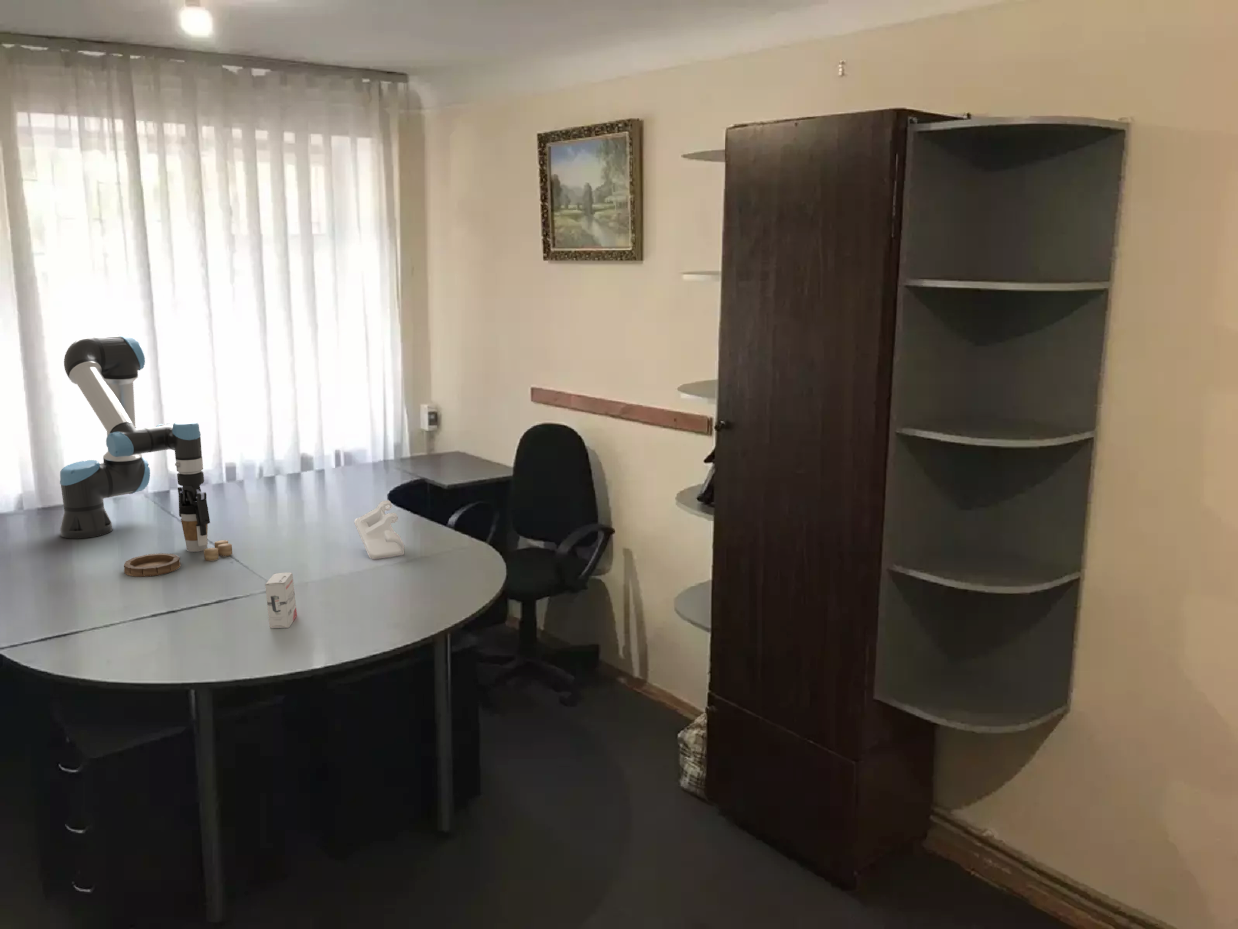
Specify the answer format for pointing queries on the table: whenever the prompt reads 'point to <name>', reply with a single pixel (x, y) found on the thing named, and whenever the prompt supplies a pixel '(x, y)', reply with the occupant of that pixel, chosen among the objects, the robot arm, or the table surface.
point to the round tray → (152, 565)
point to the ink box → (281, 600)
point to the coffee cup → (190, 527)
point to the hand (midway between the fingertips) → (196, 542)
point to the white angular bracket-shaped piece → (380, 532)
